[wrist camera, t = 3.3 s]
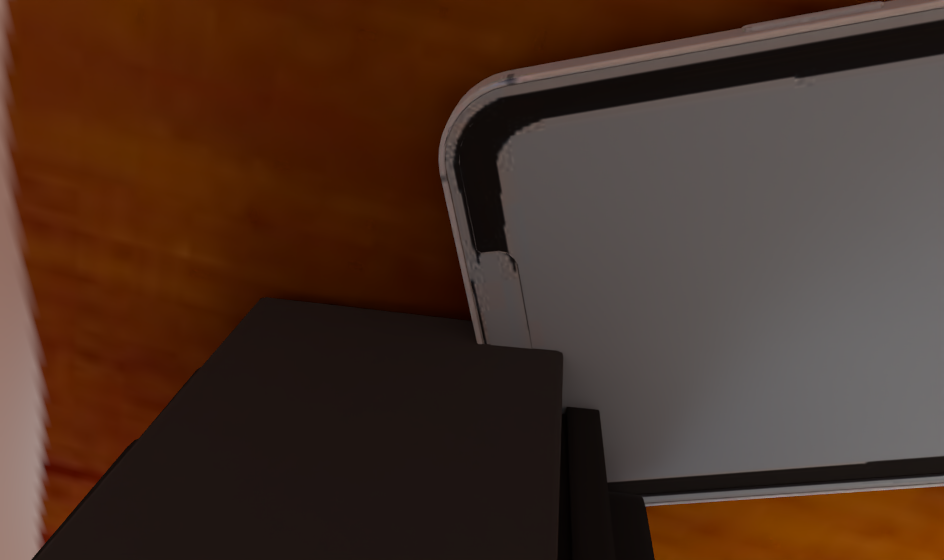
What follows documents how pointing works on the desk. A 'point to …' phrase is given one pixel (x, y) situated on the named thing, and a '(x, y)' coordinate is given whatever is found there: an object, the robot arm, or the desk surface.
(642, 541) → the robot arm
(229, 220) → the desk surface
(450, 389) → the dark grey cube
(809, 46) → the smartphone
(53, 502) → the desk surface
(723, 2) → the desk surface
